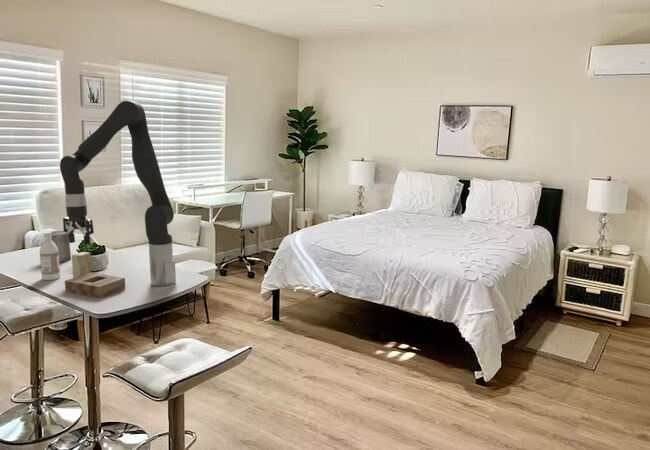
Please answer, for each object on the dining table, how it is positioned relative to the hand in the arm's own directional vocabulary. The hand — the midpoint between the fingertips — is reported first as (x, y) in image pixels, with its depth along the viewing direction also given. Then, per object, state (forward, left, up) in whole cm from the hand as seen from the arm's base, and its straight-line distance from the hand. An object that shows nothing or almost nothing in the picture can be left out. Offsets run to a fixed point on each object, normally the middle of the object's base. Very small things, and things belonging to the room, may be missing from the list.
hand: (79, 243), depth 210 cm
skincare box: (0, 0, -17) cm, 17 cm away
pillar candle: (+39, -21, -17) cm, 47 cm away
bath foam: (+16, +2, -17) cm, 23 cm away
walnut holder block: (-14, +6, -17) cm, 22 cm away
